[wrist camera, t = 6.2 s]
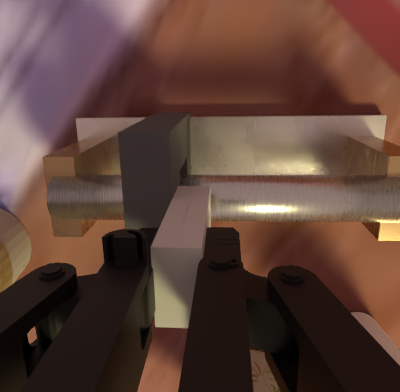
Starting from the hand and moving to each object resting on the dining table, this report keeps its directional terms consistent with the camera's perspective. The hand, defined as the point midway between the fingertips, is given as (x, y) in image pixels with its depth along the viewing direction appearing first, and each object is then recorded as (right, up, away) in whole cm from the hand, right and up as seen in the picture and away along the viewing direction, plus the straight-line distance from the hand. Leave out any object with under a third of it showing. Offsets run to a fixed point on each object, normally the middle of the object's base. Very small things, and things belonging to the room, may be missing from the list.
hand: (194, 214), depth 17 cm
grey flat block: (-1, +2, +6) cm, 7 cm away
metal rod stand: (+2, +3, +9) cm, 10 cm away
